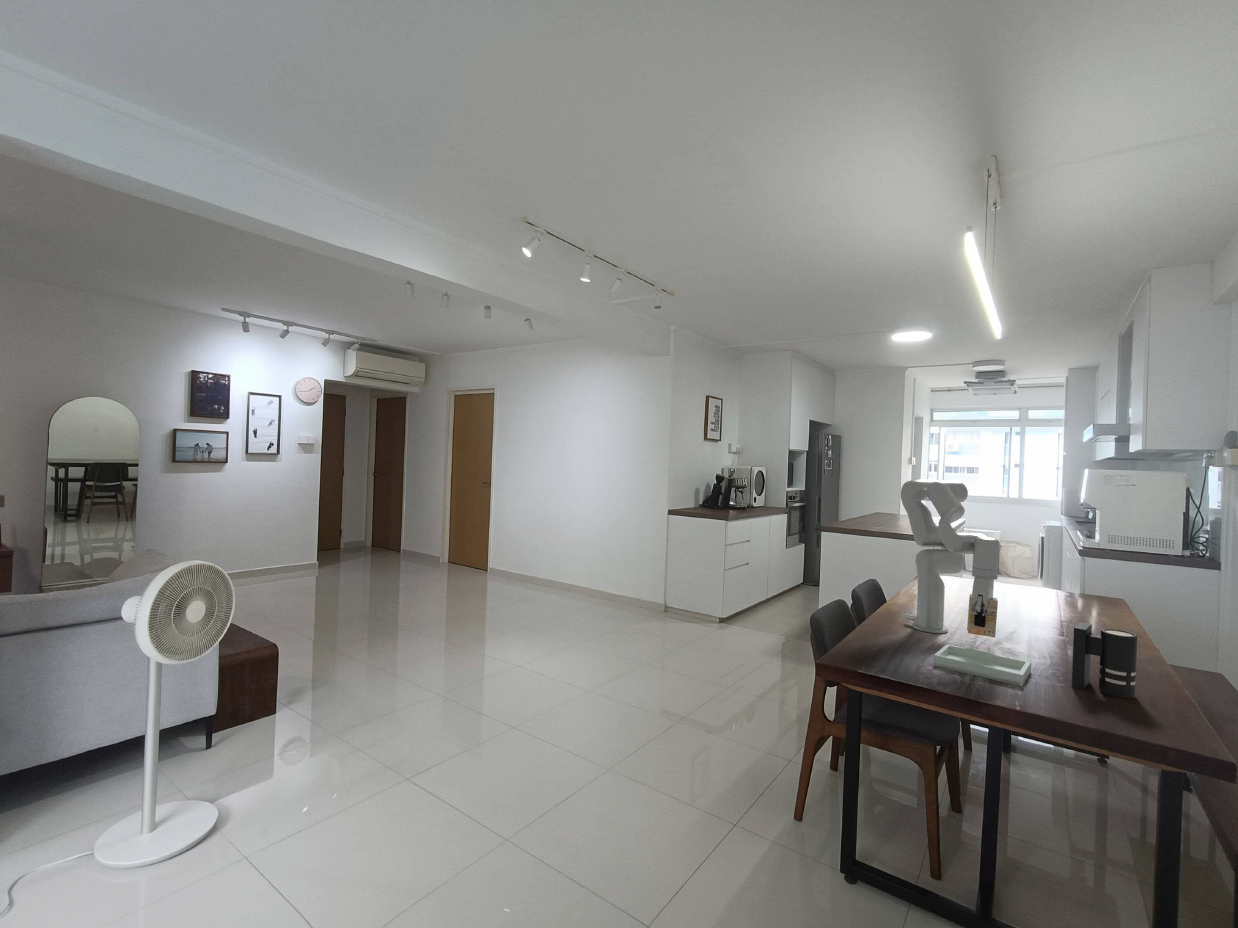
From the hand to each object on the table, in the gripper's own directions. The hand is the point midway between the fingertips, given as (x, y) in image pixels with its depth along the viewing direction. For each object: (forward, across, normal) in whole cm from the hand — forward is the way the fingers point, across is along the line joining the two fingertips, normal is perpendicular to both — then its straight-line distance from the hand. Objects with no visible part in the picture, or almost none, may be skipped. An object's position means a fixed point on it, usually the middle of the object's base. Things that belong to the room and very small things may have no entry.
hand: (981, 623), depth 204 cm
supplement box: (+4, 0, 0) cm, 4 cm away
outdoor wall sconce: (+9, +11, +34) cm, 37 cm away
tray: (+10, +18, +4) cm, 21 cm away
